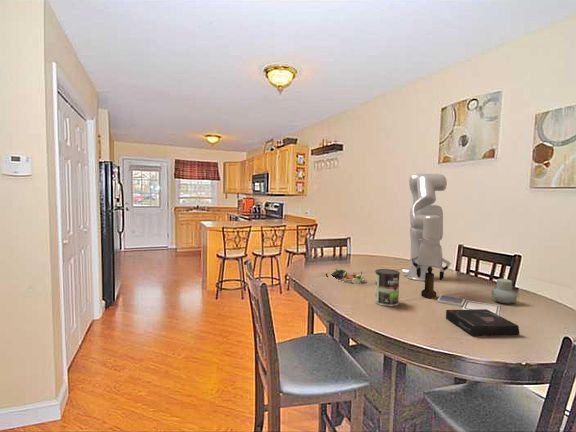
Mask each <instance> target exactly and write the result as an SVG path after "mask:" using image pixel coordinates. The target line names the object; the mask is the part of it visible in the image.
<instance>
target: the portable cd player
mask: <svg viewBox="0 0 576 432" xmlns="http://www.w3.org/2000/svg"><path fill="white" fill-rule="evenodd" d="M445 319H446V320H447V321H449V322H450V323H451V324H453V325H454V326H456V327H457V328H459V329H461V330H462V331H463V332H465V333H466V334H468V335H469V336H470V337H510V336H511V337H514V336H519V335H520V327H519V324H517V323H514V322H512V321H511V320H508V319H506V318H504V317H502V316H500V314H499V315H497V314H495V313H493V312H491V311H489V310H487V309H471V310H462V309H446V310H445Z"/></svg>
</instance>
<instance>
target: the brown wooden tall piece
mask: <svg viewBox="0 0 576 432" xmlns="http://www.w3.org/2000/svg"><path fill="white" fill-rule="evenodd" d="M427 270H428V273H425V281H424V289H422V290H421V297H422V298H426V299H436V298H437V291H436V290H434V288H435V287H434V285H435V273H434V272H433V267H428V268H427Z"/></svg>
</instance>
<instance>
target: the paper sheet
mask: <svg viewBox="0 0 576 432" xmlns="http://www.w3.org/2000/svg"><path fill="white" fill-rule="evenodd" d="M471 309H487V310H489V311H491V312H493V313H495V314H497V315H499V316H500V311H501V310H500V309H501V305H499V304H492V303H486V302H479V301H473V300H469V299H465V302H464V304H463V306H462V307H461V310H471Z"/></svg>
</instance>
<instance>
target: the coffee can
mask: <svg viewBox="0 0 576 432" xmlns="http://www.w3.org/2000/svg"><path fill="white" fill-rule="evenodd" d="M374 272H375V283H374V303H375V304H377V305H380V306H384V307H396V306H398V305H399V298H400V297H399V294H400V292H399V291H400V274H401V273H400V271H398V270H395V269H390V268H379V269H378V268H377V269H376V270H375V271H374Z"/></svg>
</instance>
